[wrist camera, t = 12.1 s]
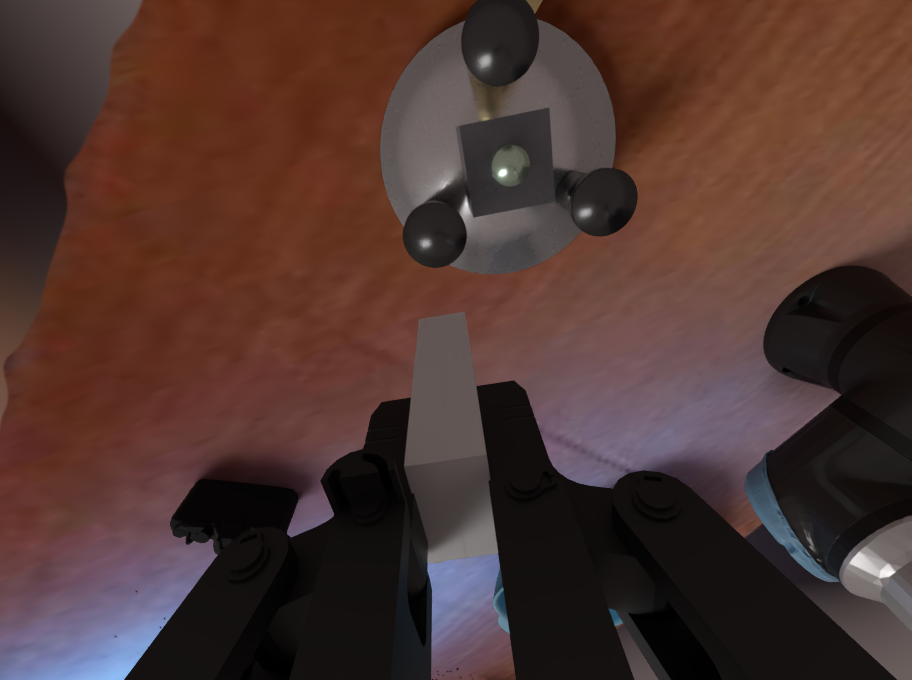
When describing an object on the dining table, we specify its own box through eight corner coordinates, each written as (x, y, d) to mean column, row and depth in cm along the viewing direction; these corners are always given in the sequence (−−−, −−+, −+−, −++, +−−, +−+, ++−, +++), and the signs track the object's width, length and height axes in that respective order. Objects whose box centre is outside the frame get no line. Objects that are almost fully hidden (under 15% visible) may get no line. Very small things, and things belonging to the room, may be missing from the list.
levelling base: (606, -6, 34) (667, -55, 25) (608, 248, 44) (652, 276, 35) (354, 48, 35) (326, 19, 26) (411, 285, 45) (406, 322, 36)
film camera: (196, 520, 60) (160, 579, 52) (192, 473, 56) (152, 529, 48) (300, 531, 63) (281, 590, 55) (304, 487, 58) (284, 543, 50)
